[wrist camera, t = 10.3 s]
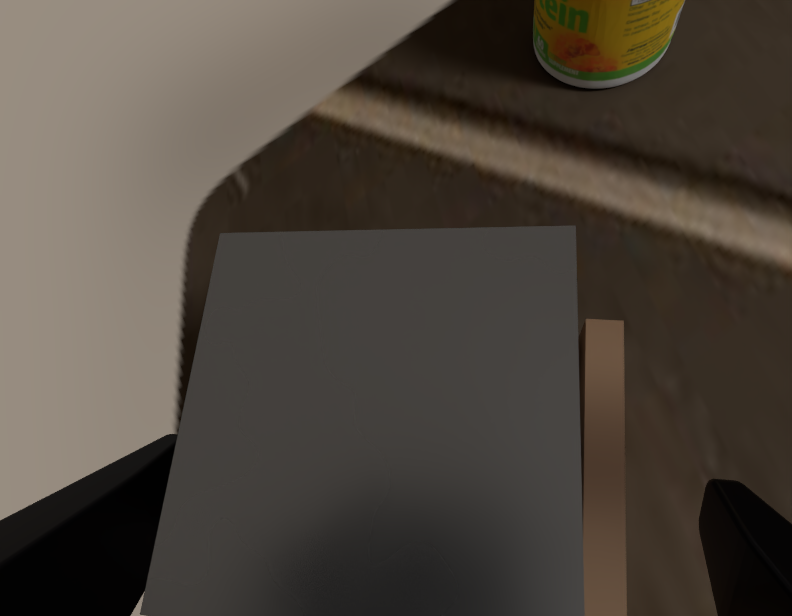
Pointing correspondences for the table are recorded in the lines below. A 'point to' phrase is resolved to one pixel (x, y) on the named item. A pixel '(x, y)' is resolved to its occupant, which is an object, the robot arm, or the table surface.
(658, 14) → the supplement bottle
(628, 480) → the table surface
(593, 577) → the wooden square frame
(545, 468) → the steel square block
